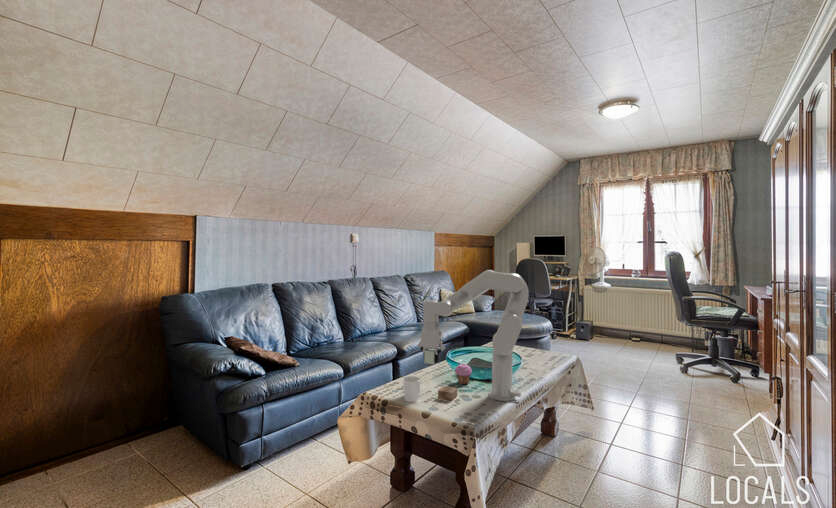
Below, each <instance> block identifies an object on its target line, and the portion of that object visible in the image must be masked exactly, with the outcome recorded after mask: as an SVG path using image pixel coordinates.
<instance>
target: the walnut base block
mask: <svg viewBox="0 0 836 508" xmlns="http://www.w3.org/2000/svg"><path fill="white" fill-rule="evenodd" d="M457 396H458V388H457V387H453V386H447V385H443V386H441V387H440V388H439V389H437V398H438V399H442V400H441V401H443V400H447V401H446V402H448V401H453V400H454V399H455V398H456V397H457ZM438 399H437V400H438Z"/></svg>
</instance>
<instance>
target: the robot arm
mask: <svg viewBox="0 0 836 508" xmlns="http://www.w3.org/2000/svg"><path fill="white" fill-rule="evenodd" d="M490 290H493V291H499V292H505V293H509V294H510V295H509V299H508V301H507V305H506V306H505V309H504V311H503V313H502V316H501V318H500V323H499V325H498V329H497V331H496V332H495V333H494V334H493V336H492V343H491V344H492V357H491V358H492V359H491V360H492V361H491V362H492V363H491V364H492V365H491V390H490V391H488V393H487V394H488V397H489V398H491V399H492V400H494V401H498V402H499V401H500V402H510V401H513V400H515V399H516V397H519V398H521V397H522V393H521V392H520V390H515V387H514V386H513V363H514V361H513V358H514V357H513V355H514V354H513V353H514V352H513V351H514V347H515V345H516V343H517V340H518V338H519V336H520V333H521V330H522V326H523V321H522V320H523V319H522V318H523V316H524V313H525V311H526V309H527V308H526V307H527V305H528V301H529V293H530V292H529V287H528V285H527V283H526V281H525V279H524V278H523V277H522V276H521V275H520V274H519V273H516V272H511V273H505V272H498V271H495V270H492V269H486V270H485V271H483V272H482V273H480V274H478V275H477V276H476V277H474V278H473V279H471V280H470V281H468V282H467V283H465V284H464V285H463V286H461V287H460V288H459V289H458V290H457V291H455V292H453V293H451V294H450V295H449V296H447V297H446V298H445V299H443V300H441V301H438V300H434V299H427V300H424V302H423V327H422V329H421V332H420V341H419V342H418V344H417V347H418V348H419V349H420V351H421V352H422V353H423V354H424V351H425V350H427V349H434V350H435V355H434V362H435V364H437V363H438V362H439V359H440V353H441V352H442V351H444V350H445V349H446V347H445V345H444V344H443V338H442V337H443V336H442V330H441V326H442V323H440V321H439V317H449V316H451V315H452V314H453V312H454V311H456V310H458V309H459V308H460V307H462V306H464V305H465V304H466V303H469V302H473V301H474V300H476V299H477V298H478V297H480V296H482V295H483V294H484V293H486V292H488V291H490Z"/></svg>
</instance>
